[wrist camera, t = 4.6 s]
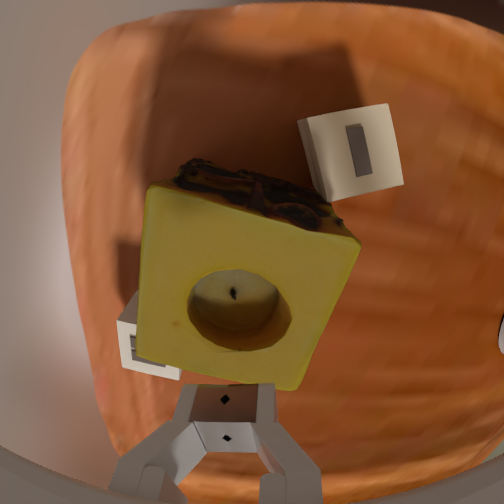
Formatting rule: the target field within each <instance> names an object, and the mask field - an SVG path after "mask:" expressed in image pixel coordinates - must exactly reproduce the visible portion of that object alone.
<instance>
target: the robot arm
mask: <svg viewBox="0 0 504 504" xmlns="http://www.w3.org/2000/svg"><path fill="white" fill-rule="evenodd" d="M499 348H500V350H501V352H502V353H503V354H504V319H503V322H502V325H501V329H500V333H499ZM206 451H208V452H257V454H258V455H259V457H260V458H261V460H262V461H263V463H264V464H265V466H266V467H267V469H268V470H269V472H270V474H264V475H263V476H262V477H261V478H260V492H259V504H323V497H322V484H321V472H320V468H319V467H318V466H317V465H316V464H315V463H314V462H313V461H312V460H311V459H310V457H309V456H308V455H307V454H306V453H305V452H304V451H303V450H302V448H301V447H300V446H299V445H298V444H297V443H296V442H295V440H294V439H293V438H292V437H291V436H290V435H289V433H288V432H287V431H286V430H285V429H284V428H283V426H282V425H281V424H280V423H279V422H278V409H277V398H276V388H275V383H256V384H231V385H209V384H184V386H183V387H182V390H181V393H180V396H179V399H178V403H177V406H176V409H175V412H174V416H173V419H172V421H171V420H168V421H166V422H165V423H164V424H163V425H162V426H160V427H159V428H158V429H157V430H155V431H154V432H153V433H152V434H150V435H149V436H148V437H147V438H145V439H144V440H143V441H142V442H140V443H139V444H138V445H136V446H135V447H134V448H133V449H131V450H130V451H129V452H127V453H126V454H125V455H123V456H122V457H121V458H120V459H119V461H118V464H117V466H116V469H115V472H114V474H113V477H112V480H111V482H110V485H109V488H108V489H104V488H101V487H98V486H95V485H92V484H88V483H86V482H82V481H79V480H77V479H74V478H71V477H68V476H66V475H63V474H61V473H58V472H55V471H53V470H51V469H48V468H46V467H43V466H41V465H39V464H36V463H34V462H32V461H30V460H28V459H26V458H24V457H22V456H20V455H17V454H16V453H14V452H12V451H10V450H8V449H6V448H4V447H2V446H0V504H187V502H188V499H187V497H186V496H185V495H184V494H183V493H182V491H181V490H180V489H179V488H178V487H177V485H178V484H179V483H180V482H181V481H182V480H183V479H184V478H185V477H186V476H187V475H188V473H189V472H190V471H191V470H192V469H193V468H194V467H195V466H196V465H197V464H198V462H199V461H200V460H201V459H202V458H203V457H204V456H205V454H206V453H207V452H206ZM348 504H504V453H503V454H501V455H499V456H497V457H495V458H493V459H491V460H489V461H487V462H485V463H483V464H480V465H478V466H476V467H473V468H471V469H469V470H466V471H464V472H461V473H459V474H456V475H454V476H451V477H448V478H446V479H443V480H440V481H437V482H434V483H431V484H428V485H425V486H422V487H418V488H415V489H412V490H408V491H404V492H401V493H397V494H393V495H389V496H384V497H380V498H375V499H370V500H365V501H360V502H354V503H348Z"/></svg>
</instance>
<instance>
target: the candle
mask: <svg viewBox="0 0 504 504" xmlns="http://www.w3.org/2000/svg"><path fill="white" fill-rule="evenodd" d="M360 249H361V241H360V240H359V239H357V238H356V237H355V236H354V235H353V234H352V233H351V232H350V231H349V230H348V229H347V228H346V227H345V225H344V224H343V219H340V218H338V216H337V215H336V214H335V213H334V211H333V208H332V205H331V203H329V202H327V201H326V200H325V199H324V198H323V197H322V195H321V194H320V193H319V192H317V191H314V190H311V189H307V188H303V187H300V186H297V185H294V184H291V183H289V182H288V181H285V182H284V181H282V180H280V179H277V178H273V177H267V176H264V175H262V174H259V173H255V172H252V171H251V172H249V173H248V172H247V171H246V170H245V169H242V170H239V171H238V172H230V171H228V170H225V169H223V168H220V167H217V166H216V165H214V164H213V163H211V162H209V161H204V160H202V159H196V158H193V159H192V160H190V161H188V162H187V163H186V164H184V165H181V166H180V168H179V170H178V172H177V174H176V176H175V178H173V179H171V180H169V181H168V180H165V179H164V180H162V181H160V182H153V183H152V184H151V185H150V187H149V188H148V189H147V194H146V200H145V206H144V218H143V230H142V240H141V252H140V273H139V288H138V304H137V326H136V338H135V351H136V356H138V357H141V358H144V359H147V360H149V361H153V362H157V363H161V364H165V365H169V366H172V367H176V368H179V369H183V370H187V371H193V372H197V373H201V374H205V375H210V376H214V377H219V378H223V379H228V380H233V381H238V382H241V383H245V384H256V383H275V388H276V389H279V390H285V391H292V390H296V389H297V388H298V386H299V385H300V383H301V381H302V379H303V377H304V375H305V372H306V370H307V368H308V365H309V362H310V359H311V356H312V354H313V351H314V349H315V347H316V345H317V343H318V340H319V338H320V336H321V334H322V332H323V330H324V328H325V326H326V324H327V322H328V320H329V318H330V316H331V314H332V311H333V309H334V307H335V304H336V302H337V300H338V298H339V296H340V294H341V292H342V290H343V288H344V286H345V284H346V282H347V280H348V278H349V276H350V273H351V271H352V269H353V267H354V264H355V262H356V260H357V257H358V255H359V252H360Z"/></svg>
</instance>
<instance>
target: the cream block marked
mask: <svg viewBox="0 0 504 504" xmlns="http://www.w3.org/2000/svg"><path fill="white" fill-rule="evenodd" d="M137 304H138V290H137V291H136V292H135V294H134V295H133V297H132V298H131V300H130V301H129V303H128V304H127V305H126V307H125V308H124V310H123V311H122V313H121V314H120V316H119V317H118V319H117V329H118V338H119V347H120V354H121V362H122V367H123V368H127V369H131V370H135V371H139V372H143V373H148V374H152V375H156V376H161V377H165V378H170V379H175V380H179V379H180V376H181V372H182V369H179V368H176V367H172V366H169V365H165V364H161V363H157V362H153V361H149V360H147V359H144V358H141V357H138V356H136V351H135V338H136V326H137Z"/></svg>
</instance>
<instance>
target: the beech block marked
mask: <svg viewBox="0 0 504 504" xmlns="http://www.w3.org/2000/svg"><path fill="white" fill-rule="evenodd" d="M297 125H298V128H299V132H300V135H301V139H302V143H303V147H304V150H305V154H306V158H307V162H308V166H309V170H310V174H311V178H312V182H313V186H314V188H315V189H316V190H317V191H318V192H319V193H320V194H321V195H322V197H323V198H324V199H325V200H326V201H327V202H331V201H335V200H340V199H344V198H348V197H352V196H356V195H360V194H364V193H369V192H373V191H377V190H381V189H386V188H390V187H394V186H399V185H403V184H404V183H403V176H402V170H401V164H400V158H399V153H398V148H397V142H396V137H395V133H394V128H393V123H392V119H391V115H390V111H389V106H388V103H387V104H380V105H373V106H367V107H361V108H355V109H349V110H344V111H338V112H333V113H328V114H323V115H318V116H314V117H309V118H305V119H301V120H297Z"/></svg>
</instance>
